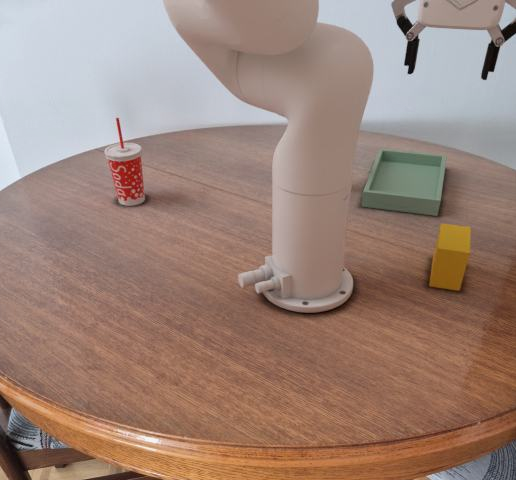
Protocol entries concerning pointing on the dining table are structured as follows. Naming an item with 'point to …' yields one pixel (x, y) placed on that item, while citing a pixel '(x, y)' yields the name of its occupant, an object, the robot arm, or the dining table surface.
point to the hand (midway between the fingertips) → (446, 74)
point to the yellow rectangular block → (450, 257)
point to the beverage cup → (126, 170)
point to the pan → (405, 182)
